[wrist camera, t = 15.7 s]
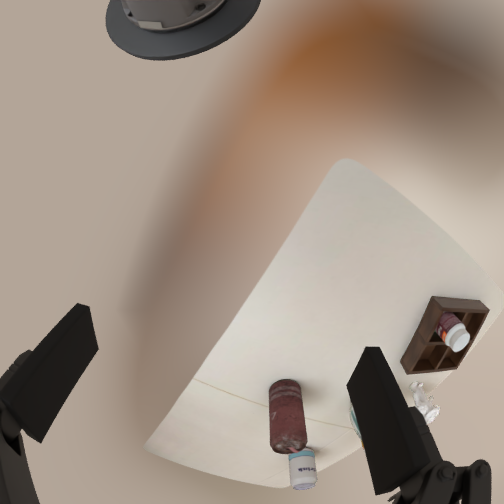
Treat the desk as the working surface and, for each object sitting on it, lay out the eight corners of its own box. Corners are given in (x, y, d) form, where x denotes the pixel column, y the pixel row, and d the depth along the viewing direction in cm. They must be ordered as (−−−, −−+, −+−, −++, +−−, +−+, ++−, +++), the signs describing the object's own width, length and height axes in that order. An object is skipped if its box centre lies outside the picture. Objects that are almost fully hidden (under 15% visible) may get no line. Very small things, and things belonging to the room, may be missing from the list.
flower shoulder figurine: (399, 388, 49) (417, 428, 38) (411, 377, 48) (430, 416, 36) (420, 393, 50) (437, 428, 39) (431, 383, 49) (450, 418, 38)
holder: (431, 295, 40) (442, 307, 37) (479, 300, 41) (489, 309, 37) (399, 361, 46) (406, 374, 42) (449, 358, 46) (456, 369, 42)
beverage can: (317, 445, 57) (322, 482, 46) (307, 456, 60) (311, 490, 49) (293, 445, 57) (296, 482, 46) (284, 455, 59) (286, 490, 48)
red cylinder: (285, 401, 50) (289, 458, 37) (262, 389, 48) (262, 449, 35) (307, 387, 48) (316, 445, 35) (284, 374, 47) (290, 436, 33)
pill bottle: (427, 318, 41) (448, 345, 33) (445, 301, 40) (469, 326, 32) (433, 331, 42) (453, 358, 34) (451, 316, 41) (473, 340, 33)
